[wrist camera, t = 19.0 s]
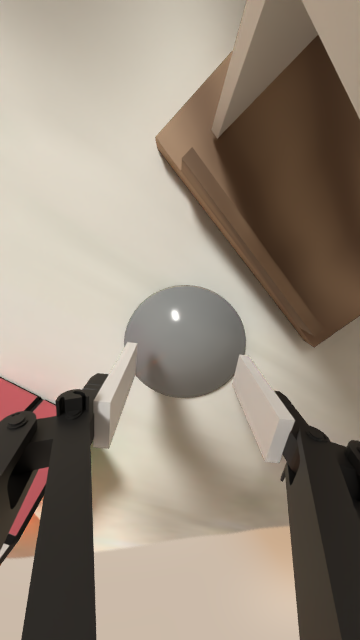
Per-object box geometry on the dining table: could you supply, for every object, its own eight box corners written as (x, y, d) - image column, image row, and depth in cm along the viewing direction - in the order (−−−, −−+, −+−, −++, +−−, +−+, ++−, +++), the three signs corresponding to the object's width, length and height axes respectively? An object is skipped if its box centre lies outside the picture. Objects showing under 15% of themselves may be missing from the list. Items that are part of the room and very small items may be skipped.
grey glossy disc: (129, 277, 17) (127, 278, 17) (255, 293, 18) (258, 295, 17) (123, 387, 21) (121, 391, 20) (230, 398, 21) (232, 402, 21)
